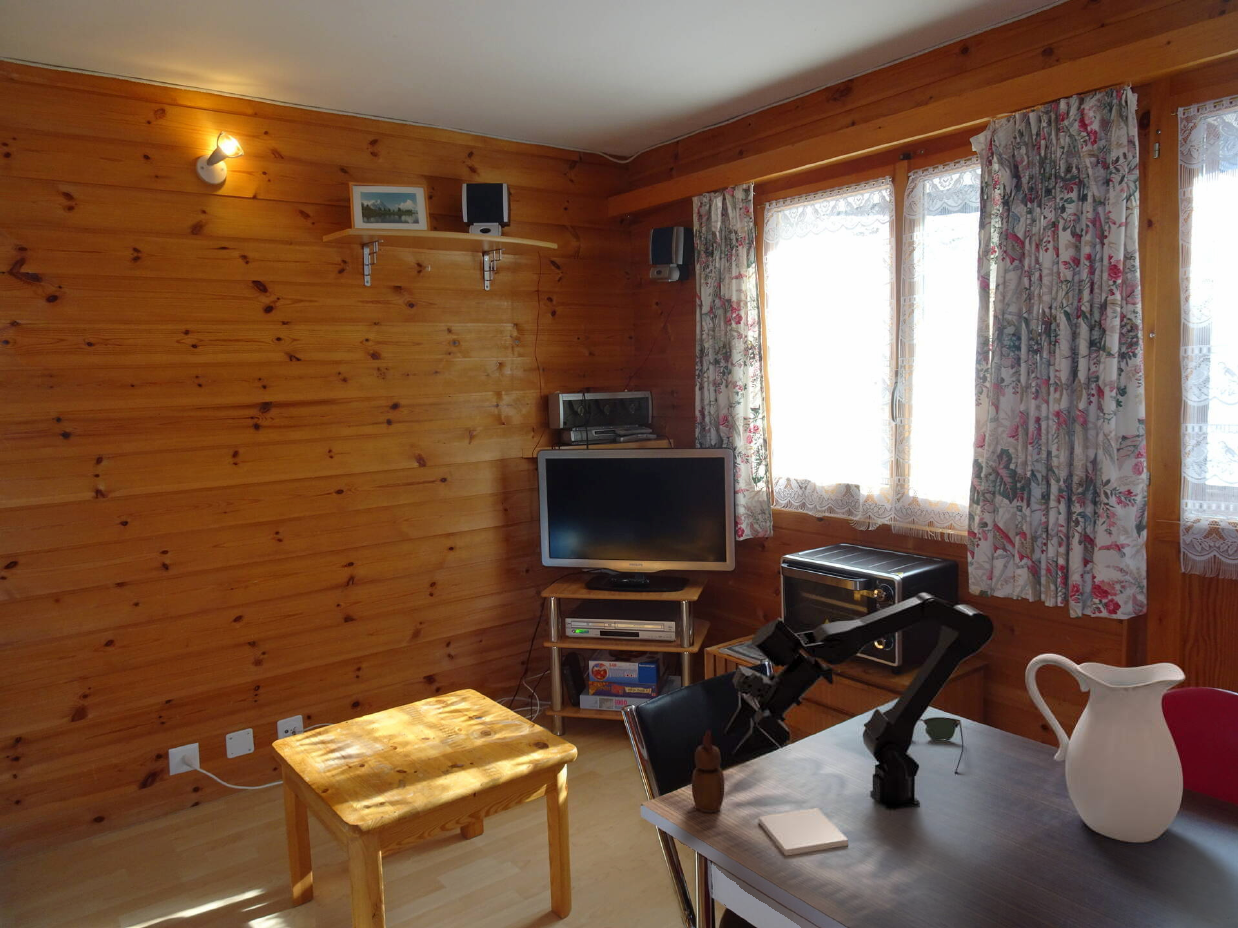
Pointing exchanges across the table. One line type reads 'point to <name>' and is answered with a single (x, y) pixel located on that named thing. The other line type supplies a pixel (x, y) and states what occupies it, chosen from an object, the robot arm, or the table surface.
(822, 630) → the robot arm
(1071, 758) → the pitcher
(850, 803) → the table surface
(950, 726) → the sunglasses
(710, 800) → the wooden figurine
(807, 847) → the display tile
